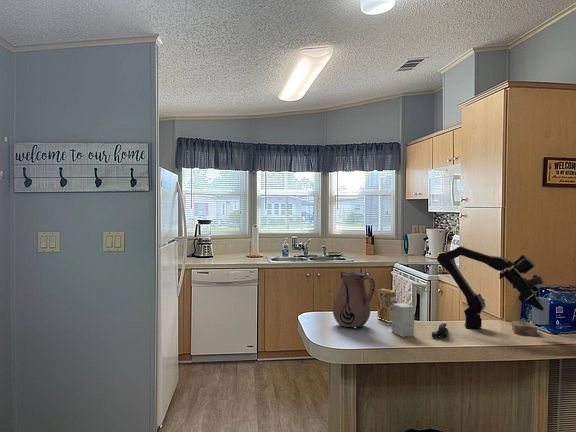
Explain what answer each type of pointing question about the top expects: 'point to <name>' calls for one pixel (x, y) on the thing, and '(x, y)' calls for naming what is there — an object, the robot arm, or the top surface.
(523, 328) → the base block
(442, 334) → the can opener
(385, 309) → the candy box
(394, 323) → the small box
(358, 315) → the ceramic pitcher
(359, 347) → the top surface
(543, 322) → the pillar
